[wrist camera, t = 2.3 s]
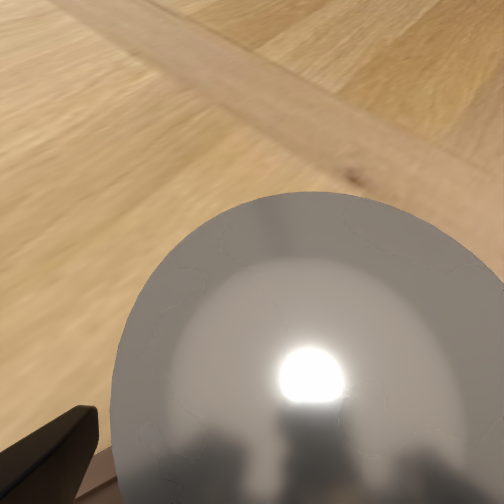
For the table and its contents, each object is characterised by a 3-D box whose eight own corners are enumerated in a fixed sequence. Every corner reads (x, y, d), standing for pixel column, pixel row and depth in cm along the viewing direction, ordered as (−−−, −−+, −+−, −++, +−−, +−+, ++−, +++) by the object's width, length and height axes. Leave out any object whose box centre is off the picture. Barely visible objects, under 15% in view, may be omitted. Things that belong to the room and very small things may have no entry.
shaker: (346, 453, 14) (697, 475, 3) (239, 524, 13) (237, 966, 2) (286, 345, 17) (374, 154, 6) (190, 396, 15) (64, 270, 4)
